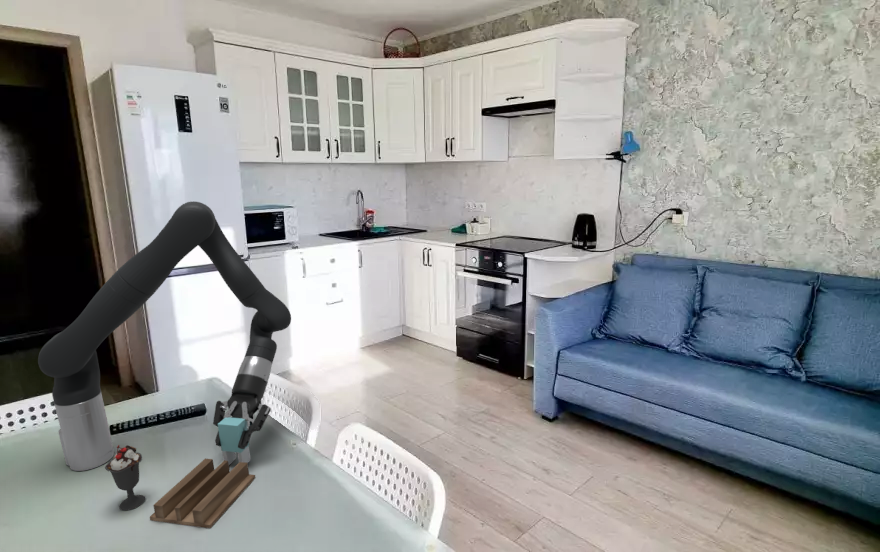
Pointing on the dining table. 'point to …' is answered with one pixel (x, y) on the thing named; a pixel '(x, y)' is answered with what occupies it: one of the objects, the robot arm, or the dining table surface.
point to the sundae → (126, 475)
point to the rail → (203, 494)
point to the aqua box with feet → (232, 439)
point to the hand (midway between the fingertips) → (230, 446)
